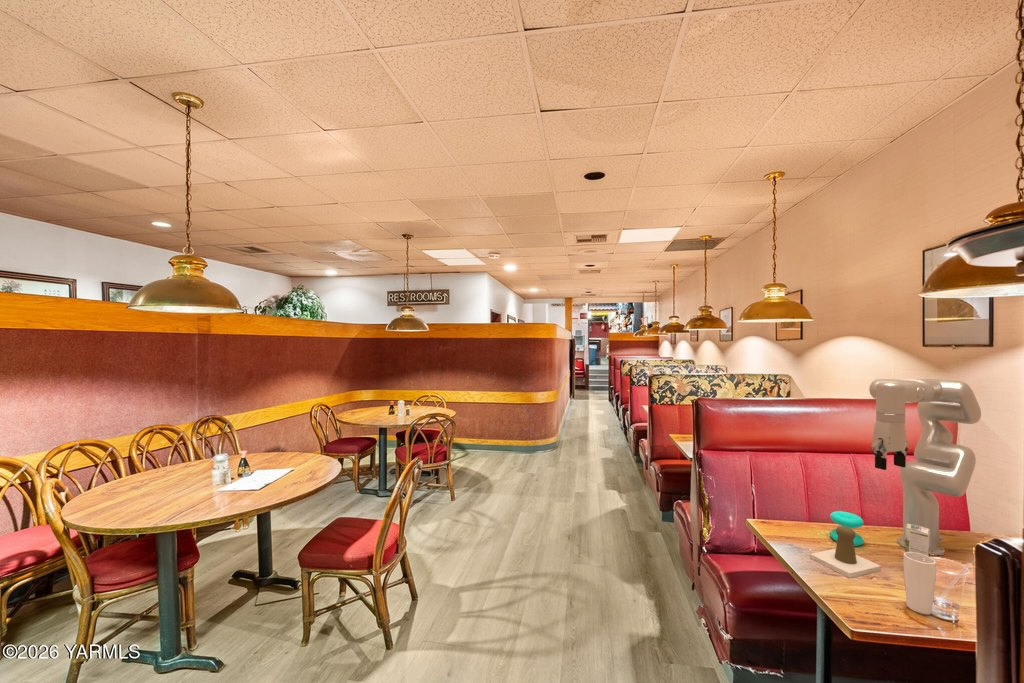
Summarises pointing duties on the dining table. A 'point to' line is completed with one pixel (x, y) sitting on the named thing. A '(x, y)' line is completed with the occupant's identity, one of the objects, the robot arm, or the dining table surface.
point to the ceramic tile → (848, 570)
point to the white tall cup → (919, 581)
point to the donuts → (847, 524)
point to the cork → (845, 545)
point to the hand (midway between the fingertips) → (890, 467)
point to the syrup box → (917, 539)
